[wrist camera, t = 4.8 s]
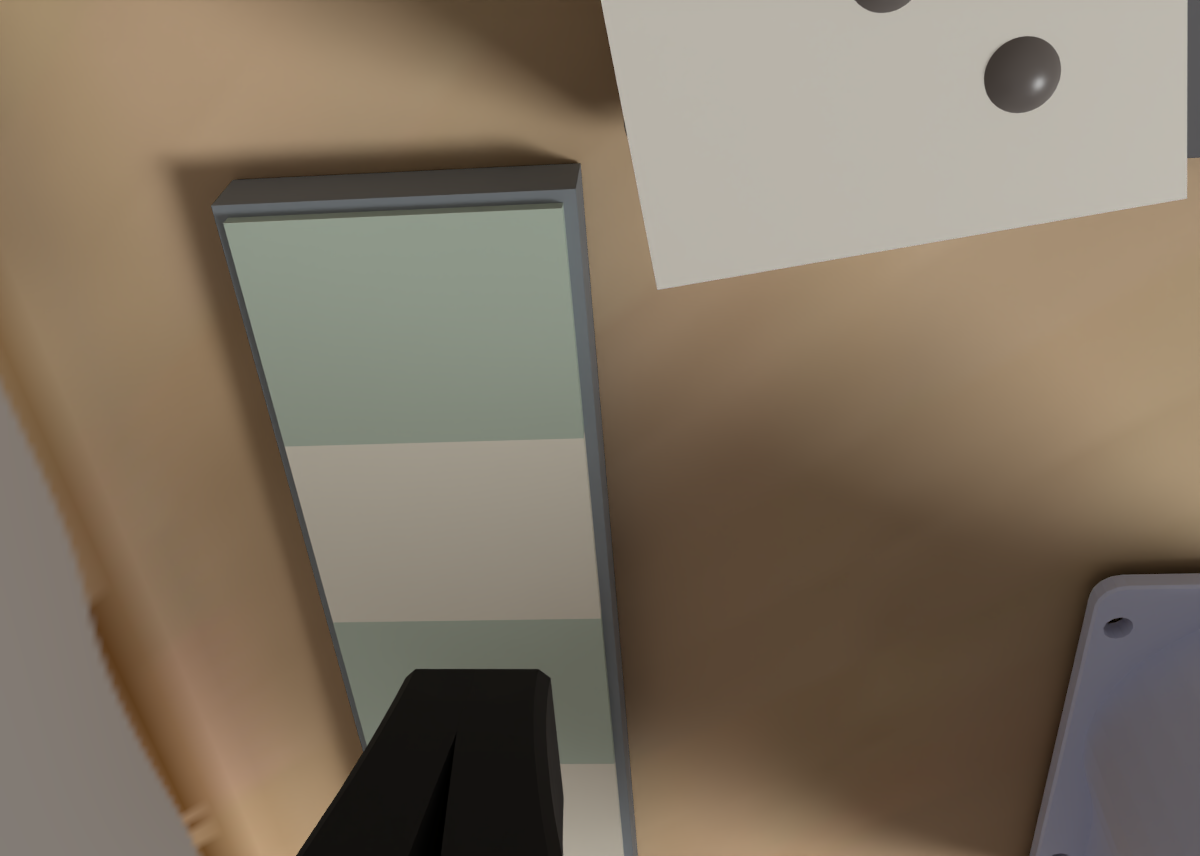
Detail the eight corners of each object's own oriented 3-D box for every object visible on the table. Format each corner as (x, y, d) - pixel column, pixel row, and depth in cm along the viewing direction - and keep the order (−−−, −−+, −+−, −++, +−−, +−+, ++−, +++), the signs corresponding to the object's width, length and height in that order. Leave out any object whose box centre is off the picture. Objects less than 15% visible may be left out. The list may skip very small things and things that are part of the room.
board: (651, 1026, 31) (651, 1072, 30) (455, 1023, 31) (448, 1067, 30) (580, 163, 17) (574, 194, 16) (233, 180, 17) (207, 211, 16)
